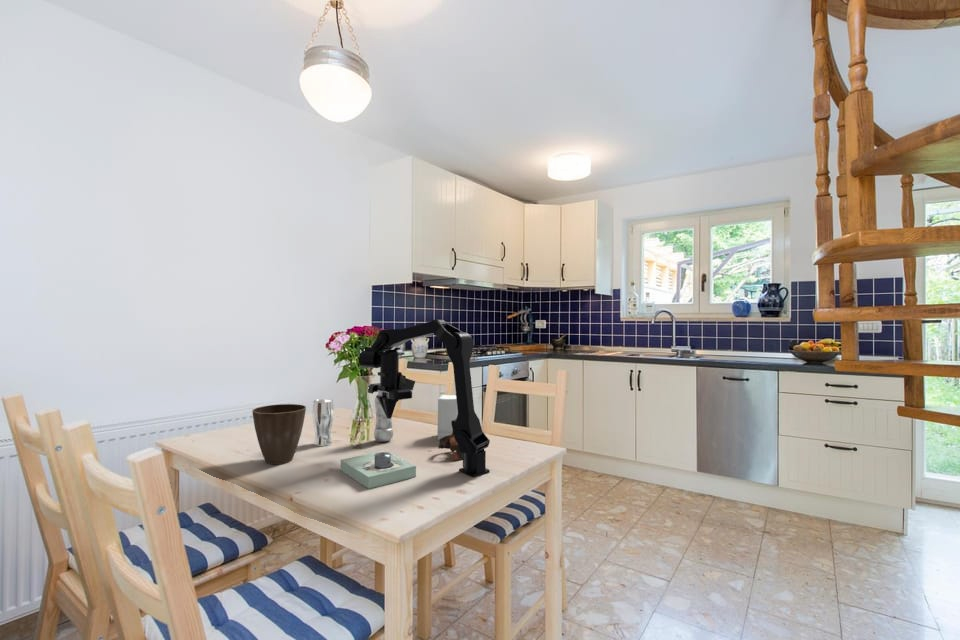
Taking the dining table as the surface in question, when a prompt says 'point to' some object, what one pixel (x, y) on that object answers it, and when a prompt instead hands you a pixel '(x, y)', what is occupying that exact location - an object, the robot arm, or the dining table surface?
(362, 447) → the dining table surface
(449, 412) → the supplement box
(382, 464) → the dark metal cylinder
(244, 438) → the dining table surface
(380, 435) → the plastic bottle
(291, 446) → the plant pot
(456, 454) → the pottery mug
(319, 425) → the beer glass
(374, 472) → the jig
